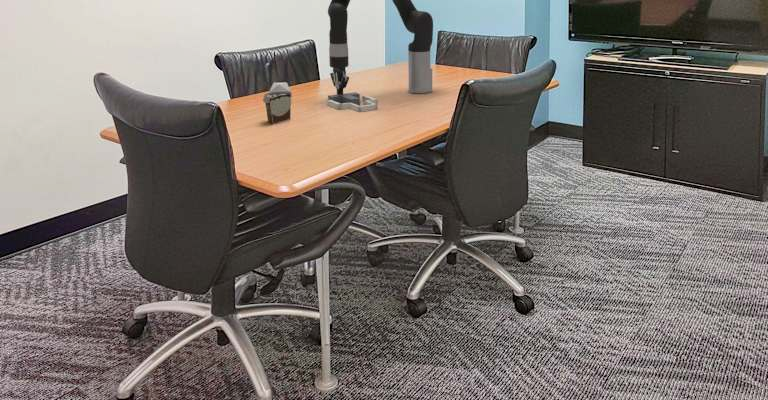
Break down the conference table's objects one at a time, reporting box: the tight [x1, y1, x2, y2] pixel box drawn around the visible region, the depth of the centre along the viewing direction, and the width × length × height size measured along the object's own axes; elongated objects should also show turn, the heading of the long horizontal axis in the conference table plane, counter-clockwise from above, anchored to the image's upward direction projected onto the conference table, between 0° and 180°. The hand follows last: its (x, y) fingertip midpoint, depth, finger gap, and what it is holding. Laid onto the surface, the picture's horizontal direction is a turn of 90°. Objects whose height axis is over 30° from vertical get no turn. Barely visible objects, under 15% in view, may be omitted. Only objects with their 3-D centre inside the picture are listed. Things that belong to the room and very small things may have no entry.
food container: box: [262, 91, 293, 125], centre depth 272 cm, size 12×6×10 cm, turn 145°
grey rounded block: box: [268, 82, 293, 96], centre depth 303 cm, size 8×9×10 cm
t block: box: [327, 91, 361, 106], centre depth 300 cm, size 12×12×3 cm
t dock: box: [327, 94, 379, 113], centre depth 294 cm, size 17×18×2 cm
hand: (340, 97), depth 306 cm, fingers closed
